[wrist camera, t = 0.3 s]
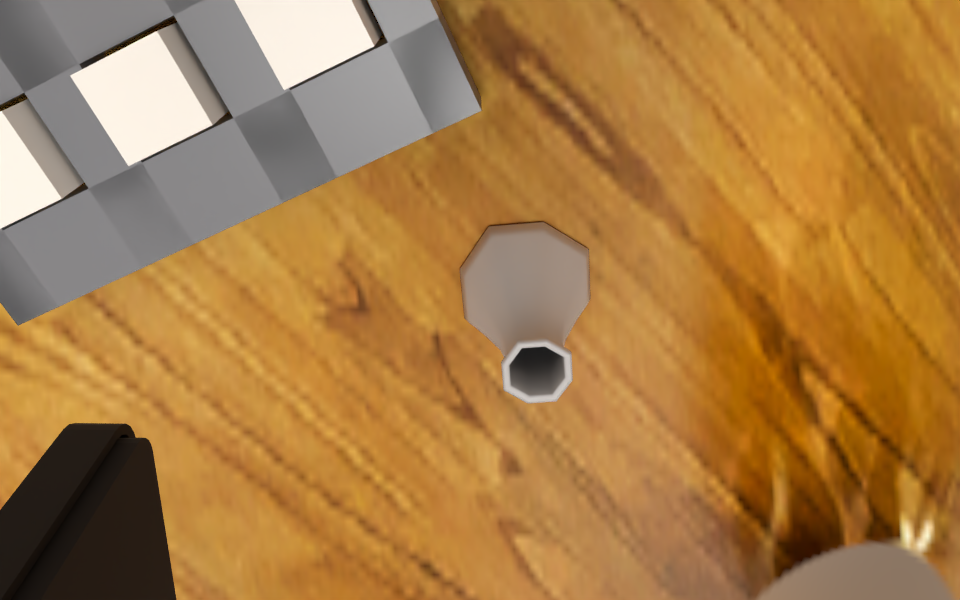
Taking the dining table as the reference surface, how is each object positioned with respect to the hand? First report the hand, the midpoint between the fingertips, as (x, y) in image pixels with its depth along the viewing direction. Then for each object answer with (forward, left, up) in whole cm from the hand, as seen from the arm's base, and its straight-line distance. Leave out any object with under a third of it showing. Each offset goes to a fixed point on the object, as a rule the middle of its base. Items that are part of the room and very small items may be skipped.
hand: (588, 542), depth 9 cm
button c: (-5, -7, -35) cm, 36 cm away
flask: (+12, -4, -36) cm, 39 cm away
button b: (-5, -15, -35) cm, 38 cm away
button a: (-5, -23, -35) cm, 42 cm away
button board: (-5, -15, -36) cm, 39 cm away
